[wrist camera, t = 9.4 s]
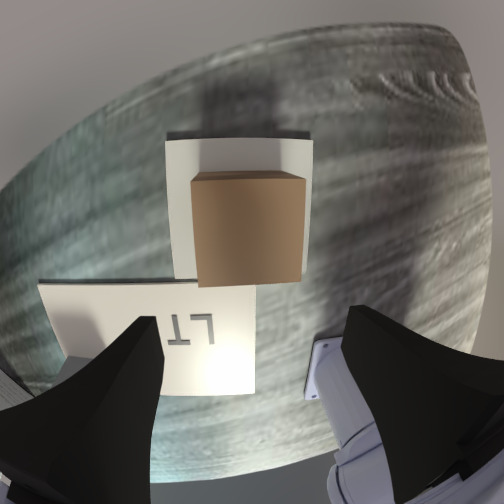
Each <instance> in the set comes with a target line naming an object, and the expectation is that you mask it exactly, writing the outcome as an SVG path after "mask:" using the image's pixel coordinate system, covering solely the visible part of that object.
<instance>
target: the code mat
mask: <svg viewBox="0 0 504 504" xmlns="http://www.w3.org/2000/svg"><path fill="white" fill-rule="evenodd" d="M37 286H38V289H39V292H40V295H41V298H42V301H43V304H44V307H45V309H46V312H47V315H48V318H49V320H50V323H51V325H52V328H53V330H54V333H55V335H56V337H57V340H58V342H59V344H60V347H61V349H62V351H63V353H64V355H65V357H66V359H67V357H68V356H75V357H83V358H93V359H94V358H95V357H96V356H97V355H99V354H100V353H101V352H102V351H103V350H104V349H106V348H107V347H108V346H109V345H110V344H111V343H112V342H113V341H114V340H115V339H116V338H117V337H118V336H119V335H120V334H121V333H122V332H123V331H124V330H126V329H127V328H128V327H129V326H130V325H131V324H132V323H133V322H134V321H135V320H136V319H137V318H138V317H139V316H156V320H157V325H158V330H159V334H160V339H161V344H162V348H163V352H164V357H165V363H164V374H163V382H162V387H161V392H160V395H177V396H206V395H233V394H248V393H254V392H255V314H256V285H243V286H224V287H203V288H198V282H165V283H100V284H67V283H39V284H38V285H37Z"/></svg>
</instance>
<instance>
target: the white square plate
mask: <svg viewBox="0 0 504 504" xmlns="http://www.w3.org/2000/svg"><path fill="white" fill-rule="evenodd" d="M165 149H166V178H167V197H168V211H169V224H170V236H171V246H172V256H173V265H174V273H175V279H190V278H197V269H196V258H195V246H194V234H193V220H192V204H191V185H190V181H191V180H192V179H193V178H194V177H195V176H196V175H197V174H198V173H199V172H218V171H254V170H282V171H285V172H288V173H291V174H293V175H296V176H299V177H302V178H305V179H306V200H305V224H304V242H303V259H302V273H306V267H307V255H308V242H309V227H310V211H311V191H312V165H313V140H301V139H281V138H209V139H189V140H175V141H165Z"/></svg>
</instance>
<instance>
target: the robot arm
mask: <svg viewBox="0 0 504 504" xmlns="http://www.w3.org/2000/svg"><path fill="white" fill-rule="evenodd" d="M324 344H326V345H324ZM164 363H165V357H164V352H163V348H162V344H161V339H160V334H159V330H158V325H157V320H156V316H139V317H138V318H137V319H136V320H135V321H134V322H133V323H132V324H131V325H130V326H129V327H128V328H127V329H126V330H124V331H123V332H122V333H121V334H120V335H119V336H118V337H117V338H116V339H115V340H114V341H113V342H112V343H111V344H110V345H109V346H108V347H107V348H106V349H104V350H103V351H102V352H101V353H100V354H99V355H97V356H96V357H95V358H94V359H93V360H92V361H91V362H89V363H88V364H87V365H86V366H84V367H83V368H82V369H80V370H79V371H78V372H76V373H75V374H74V375H72V376H71V377H69V378H68V379H66V380H65V381H63V382H62V383H60V384H58V385H56V386H55V387H53V388H51V389H50V390H48V391H46V392H44V393H43V394H41V395H39V396H37V397H34V398H32V399H30V400H28V401H26V402H23V403H21V404H18V405H16V406H13V407H10V408H7V409H4V410H1V411H0V472H1V473H2V474H3V475H5V476H6V477H7V478H8V479H10V480H11V484H10V487H9V486H8V485H6V484H5V483H3V482H2V481H0V504H151V501H150V449H151V437H152V430H153V425H154V420H155V415H156V410H157V405H158V401H159V396H160V392H161V387H162V382H163V374H164ZM304 398H305V400H312V399H317V398H320V400H321V402H322V405H323V408H324V410H325V413H326V415H327V418H328V420H329V423H330V426H331V428H332V431H333V433H334V436H335V439H336V441H337V444H338V446H339V449H340V451H338V452H336V453H335V454H334V456H335V459H336V462H337V464H335V465H334V466H332V467H331V469H330V472H329V476H328V479H327V489H328V494H329V497H330V500H331V503H332V504H504V361H502V360H495V359H489V358H483V357H479V356H474V355H471V354H467V353H464V352H460V351H457V350H454V349H451V348H449V347H446V346H444V345H441V344H439V343H436V342H434V341H432V340H430V339H428V338H426V337H423V336H421V335H419V334H417V333H415V332H414V331H412V330H410V329H408V328H406V327H404V326H402V325H401V324H399V323H397V322H395V321H393V320H392V319H390V318H388V317H386V316H385V315H383V314H381V313H379V312H377V311H376V310H374V309H372V308H370V307H368V306H365V305H356V306H350V308H349V312H348V317H347V321H346V326H345V330H344V334H343V337H337V338H330V339H323V340H318V341H316V342H315V343H314V346H313V352H312V357H311V363H310V368H309V373H308V378H307V383H306V388H305V393H304Z"/></svg>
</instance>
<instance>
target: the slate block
mask: <svg viewBox="0 0 504 504" xmlns="http://www.w3.org/2000/svg"><path fill="white" fill-rule="evenodd" d="M92 360H93V358H83V357H75V356H68V357H67V359H66V361H65V363H64V364H63V366H62V368H61V370H60V372H59V374H58V376H57V378H56V379H55V381H54V383H53V385H52V387H51V388H53V387H55V386H56V385H58V384H60V383H62V382H63V381H65V380H66V379H68V378H69V377H71V376H72V375H74V374H75V373H76V372H78V371H79V370H80V369H82V368H83V367H84V366H86V365H87V364H88V363H89V362H91V361H92Z"/></svg>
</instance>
